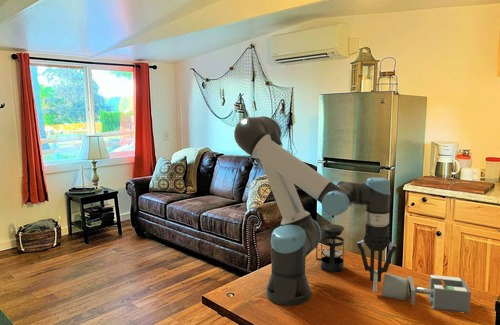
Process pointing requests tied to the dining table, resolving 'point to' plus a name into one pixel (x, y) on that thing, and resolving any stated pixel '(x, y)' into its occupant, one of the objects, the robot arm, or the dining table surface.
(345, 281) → the dining table surface
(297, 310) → the dining table surface
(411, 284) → the plunger
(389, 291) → the ceramic mug
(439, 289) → the grey bracket housing
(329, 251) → the french press
